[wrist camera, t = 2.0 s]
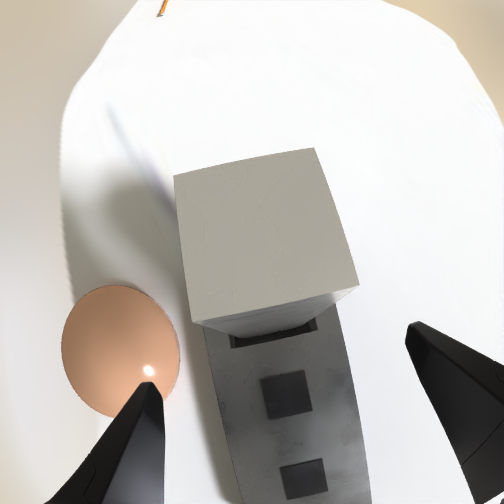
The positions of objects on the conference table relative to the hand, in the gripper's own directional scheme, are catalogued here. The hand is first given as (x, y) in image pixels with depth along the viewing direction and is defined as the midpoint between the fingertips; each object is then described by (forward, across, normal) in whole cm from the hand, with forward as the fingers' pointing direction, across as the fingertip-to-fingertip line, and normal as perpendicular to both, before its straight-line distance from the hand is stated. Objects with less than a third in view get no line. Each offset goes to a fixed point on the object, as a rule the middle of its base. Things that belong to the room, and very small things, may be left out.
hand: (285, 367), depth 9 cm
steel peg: (+10, 0, +5) cm, 11 cm away
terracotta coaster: (+9, +12, +6) cm, 16 cm away
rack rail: (+6, 0, +9) cm, 11 cm away
